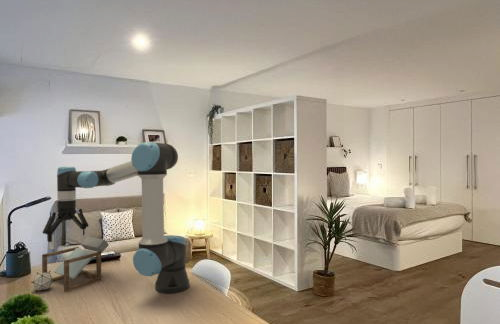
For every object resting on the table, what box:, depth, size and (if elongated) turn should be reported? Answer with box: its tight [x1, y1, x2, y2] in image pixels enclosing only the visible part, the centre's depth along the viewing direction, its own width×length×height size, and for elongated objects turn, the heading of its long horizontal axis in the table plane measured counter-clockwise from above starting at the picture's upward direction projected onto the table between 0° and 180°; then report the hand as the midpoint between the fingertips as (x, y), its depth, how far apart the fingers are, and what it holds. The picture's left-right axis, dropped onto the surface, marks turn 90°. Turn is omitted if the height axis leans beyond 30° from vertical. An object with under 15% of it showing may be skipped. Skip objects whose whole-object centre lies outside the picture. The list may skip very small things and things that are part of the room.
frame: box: [41, 246, 102, 293], centre depth 157 cm, size 20×17×14 cm
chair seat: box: [53, 235, 110, 280], centre depth 162 cm, size 16×22×4 cm
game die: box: [30, 270, 55, 293], centre depth 147 cm, size 9×8×10 cm
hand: (66, 245), depth 155 cm, fingers open, 13 cm apart
